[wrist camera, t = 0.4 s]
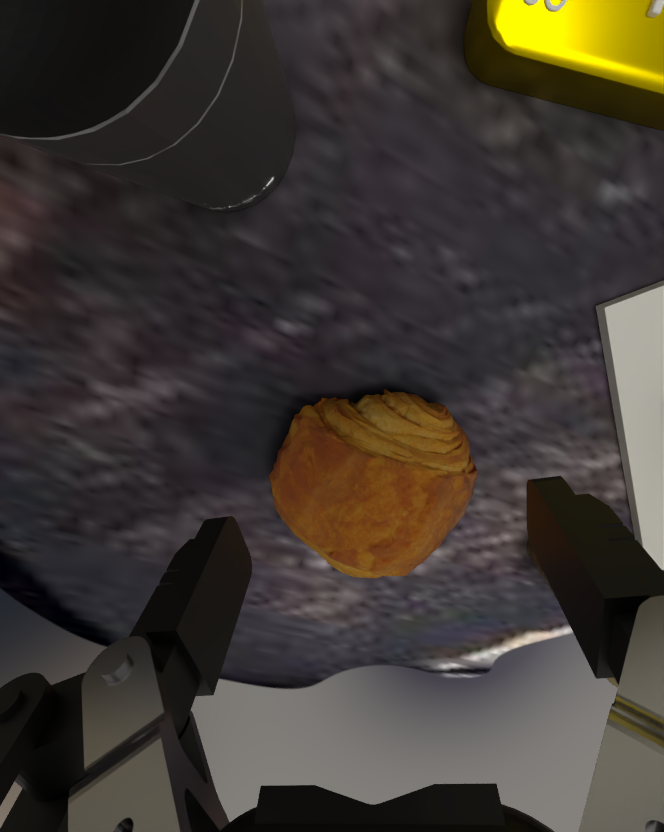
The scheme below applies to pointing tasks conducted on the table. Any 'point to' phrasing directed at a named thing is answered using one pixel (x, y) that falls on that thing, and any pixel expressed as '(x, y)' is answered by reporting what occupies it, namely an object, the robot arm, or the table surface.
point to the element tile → (573, 53)
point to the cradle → (639, 404)
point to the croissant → (373, 481)
